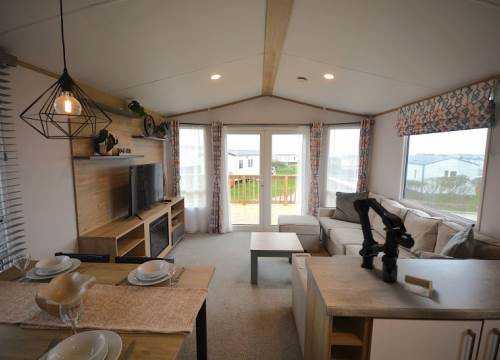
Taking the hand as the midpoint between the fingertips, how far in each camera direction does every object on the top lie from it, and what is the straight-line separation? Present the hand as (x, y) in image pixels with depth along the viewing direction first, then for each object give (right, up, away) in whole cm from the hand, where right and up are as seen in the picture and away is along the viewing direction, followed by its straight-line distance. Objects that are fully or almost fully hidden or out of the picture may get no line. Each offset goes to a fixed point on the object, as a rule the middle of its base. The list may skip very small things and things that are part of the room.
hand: (389, 271), depth 123 cm
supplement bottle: (0, -5, +1) cm, 5 cm away
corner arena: (+9, -6, -7) cm, 13 cm away
